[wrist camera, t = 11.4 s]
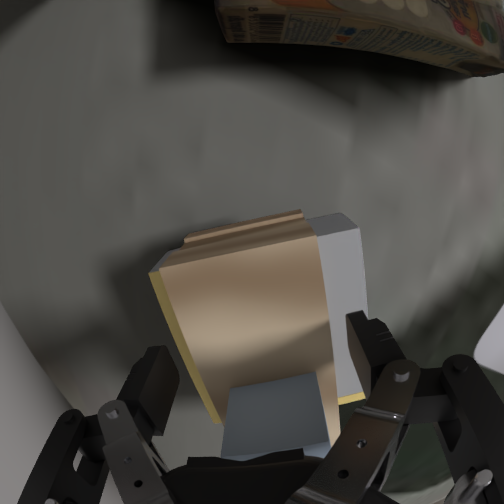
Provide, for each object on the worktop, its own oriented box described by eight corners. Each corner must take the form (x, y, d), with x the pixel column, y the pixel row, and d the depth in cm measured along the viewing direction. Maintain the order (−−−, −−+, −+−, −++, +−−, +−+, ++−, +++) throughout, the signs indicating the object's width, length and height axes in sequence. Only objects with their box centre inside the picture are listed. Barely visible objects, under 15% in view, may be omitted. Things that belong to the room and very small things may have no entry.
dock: (168, 250, 21) (148, 273, 17) (341, 212, 19) (359, 227, 16) (219, 389, 25) (213, 423, 21) (357, 364, 23) (369, 397, 20)
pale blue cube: (229, 388, 13) (220, 456, 9) (315, 371, 13) (329, 440, 9) (253, 436, 14) (250, 496, 11) (326, 422, 14) (337, 484, 10)
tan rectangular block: (188, 233, 16) (158, 268, 11) (300, 209, 15) (316, 235, 11) (249, 414, 20) (245, 468, 16) (330, 401, 20) (341, 454, 15)
